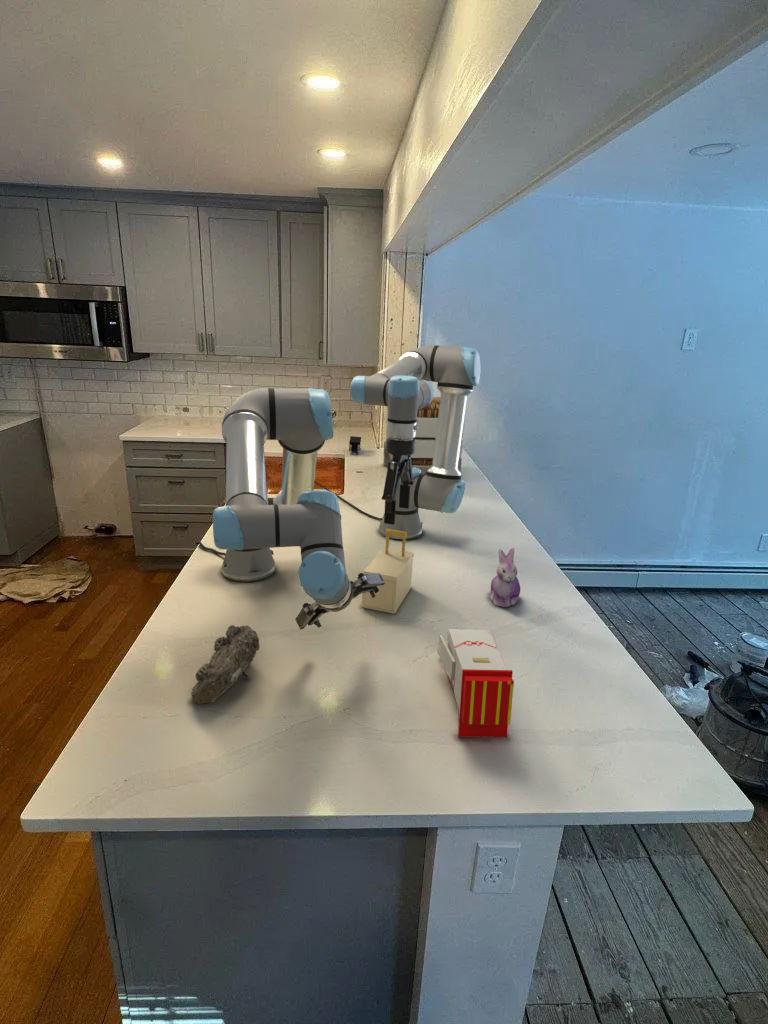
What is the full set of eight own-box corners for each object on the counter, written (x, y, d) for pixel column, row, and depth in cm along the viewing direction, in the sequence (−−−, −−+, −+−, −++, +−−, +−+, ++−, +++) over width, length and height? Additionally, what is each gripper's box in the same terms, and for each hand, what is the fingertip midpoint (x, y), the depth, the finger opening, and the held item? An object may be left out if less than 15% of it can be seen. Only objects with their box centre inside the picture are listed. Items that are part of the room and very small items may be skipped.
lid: (383, 551, 162) (384, 523, 159) (413, 556, 159) (415, 528, 156) (363, 575, 147) (364, 545, 144) (396, 581, 144) (398, 550, 141)
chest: (380, 582, 164) (382, 552, 161) (410, 587, 162) (412, 557, 159) (362, 607, 150) (363, 575, 147) (394, 613, 147) (396, 581, 144)
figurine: (502, 611, 151) (509, 560, 146) (479, 594, 159) (485, 545, 154) (530, 604, 155) (537, 554, 150) (506, 588, 163) (512, 540, 158)
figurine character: (360, 458, 303) (361, 448, 316) (361, 444, 299) (361, 435, 313) (348, 457, 302) (349, 447, 316) (348, 444, 299) (349, 434, 312)
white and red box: (488, 613, 130) (523, 677, 101) (484, 667, 133) (517, 744, 104) (435, 612, 130) (455, 676, 101) (432, 666, 133) (451, 743, 103)
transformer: (382, 463, 289) (386, 382, 275) (445, 464, 293) (451, 384, 279) (390, 482, 257) (394, 392, 243) (460, 483, 261) (468, 394, 247)
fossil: (211, 627, 129) (258, 597, 124) (240, 656, 132) (287, 627, 127) (170, 698, 110) (224, 665, 105) (204, 729, 113) (259, 699, 108)
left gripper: (281, 639, 105) (302, 648, 125) (399, 575, 108) (401, 594, 128) (264, 603, 107) (287, 618, 127) (380, 541, 110) (385, 566, 130)
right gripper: (401, 449, 133) (397, 533, 141) (426, 430, 156) (421, 503, 163) (371, 446, 136) (368, 528, 143) (400, 427, 158) (396, 499, 165)
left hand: (344, 606), depth 127 cm, fingers open, 13 cm apart
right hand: (396, 515), depth 153 cm, fingers open, 13 cm apart
